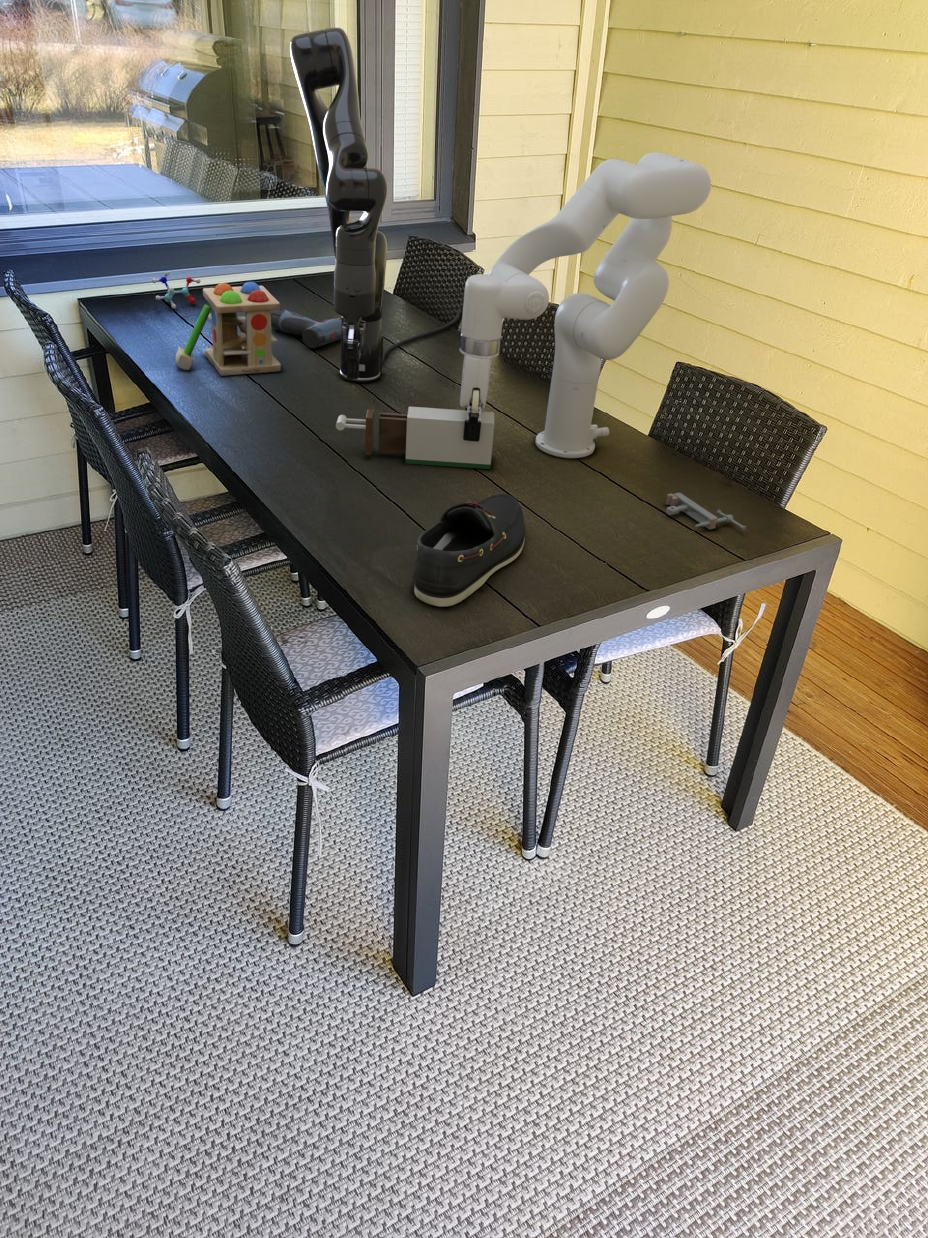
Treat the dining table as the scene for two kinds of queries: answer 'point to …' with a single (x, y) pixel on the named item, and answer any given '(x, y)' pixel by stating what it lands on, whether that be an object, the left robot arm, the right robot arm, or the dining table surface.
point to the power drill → (307, 327)
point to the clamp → (677, 506)
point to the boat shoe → (467, 548)
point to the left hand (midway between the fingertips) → (352, 377)
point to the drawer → (381, 431)
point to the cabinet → (447, 438)
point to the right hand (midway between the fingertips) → (471, 432)
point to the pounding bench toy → (229, 347)
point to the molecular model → (172, 292)
